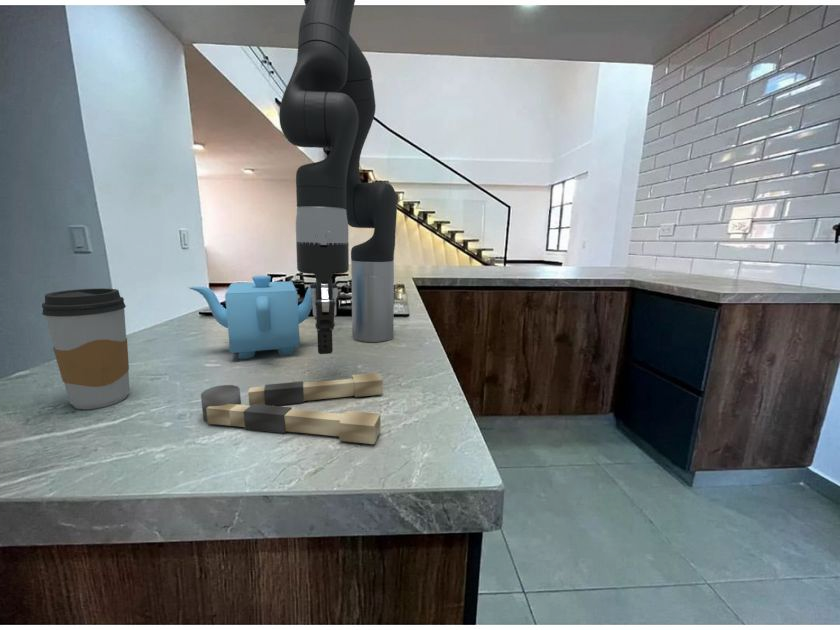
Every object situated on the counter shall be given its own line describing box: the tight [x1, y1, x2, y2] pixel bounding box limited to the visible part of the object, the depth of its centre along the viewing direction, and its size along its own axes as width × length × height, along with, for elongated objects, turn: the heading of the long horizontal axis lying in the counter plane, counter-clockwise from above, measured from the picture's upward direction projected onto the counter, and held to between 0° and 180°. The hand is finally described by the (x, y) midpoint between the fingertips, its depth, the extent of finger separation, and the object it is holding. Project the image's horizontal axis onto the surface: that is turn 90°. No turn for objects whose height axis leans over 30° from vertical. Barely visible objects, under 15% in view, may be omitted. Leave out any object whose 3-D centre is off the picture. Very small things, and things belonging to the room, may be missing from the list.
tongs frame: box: [200, 384, 381, 445], centre depth 47 cm, size 23×6×3 cm, turn 82°
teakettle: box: [188, 274, 313, 360], centre depth 76 cm, size 19×19×15 cm
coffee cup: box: [41, 288, 131, 410], centre depth 51 cm, size 8×8×15 cm
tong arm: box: [247, 372, 384, 406], centre depth 54 cm, size 18×3×2 cm, turn 107°
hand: (325, 352), depth 60 cm, fingers closed
